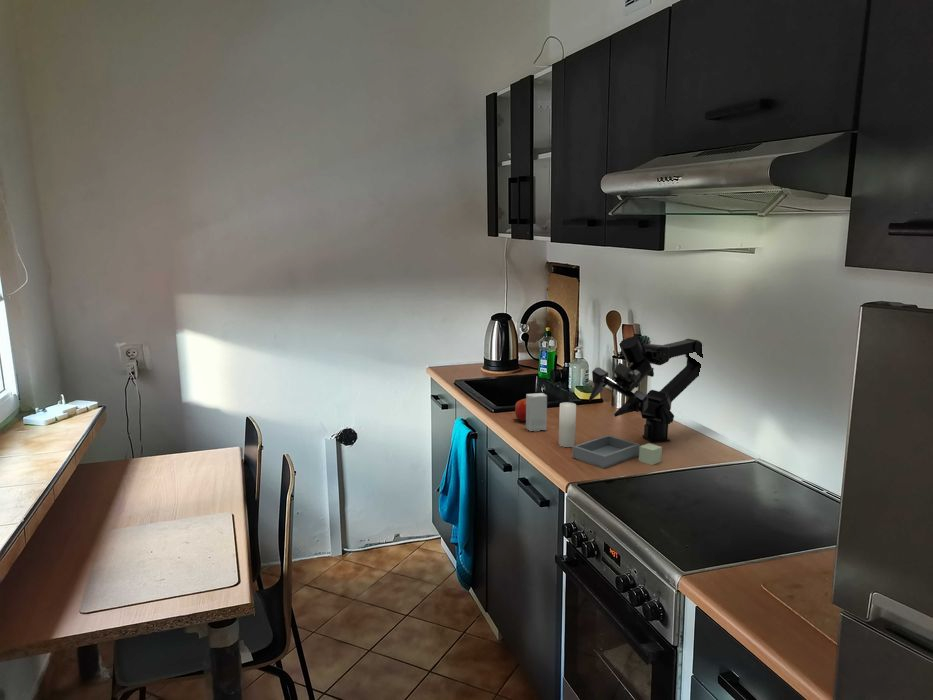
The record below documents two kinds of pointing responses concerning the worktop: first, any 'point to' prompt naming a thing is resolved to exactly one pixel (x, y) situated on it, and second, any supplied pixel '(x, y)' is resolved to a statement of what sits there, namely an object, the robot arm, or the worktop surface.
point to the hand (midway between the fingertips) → (601, 407)
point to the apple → (521, 410)
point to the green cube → (650, 454)
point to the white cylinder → (567, 424)
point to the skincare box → (536, 412)
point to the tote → (606, 451)
